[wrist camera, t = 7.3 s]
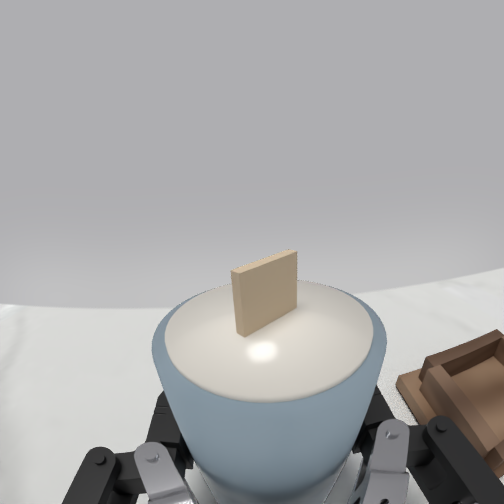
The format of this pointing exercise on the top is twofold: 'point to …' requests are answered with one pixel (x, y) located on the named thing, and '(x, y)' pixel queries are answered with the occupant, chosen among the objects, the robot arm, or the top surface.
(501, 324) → the top surface
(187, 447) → the robot arm
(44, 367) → the top surface
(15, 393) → the top surface
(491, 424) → the tray
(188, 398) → the candle jar
